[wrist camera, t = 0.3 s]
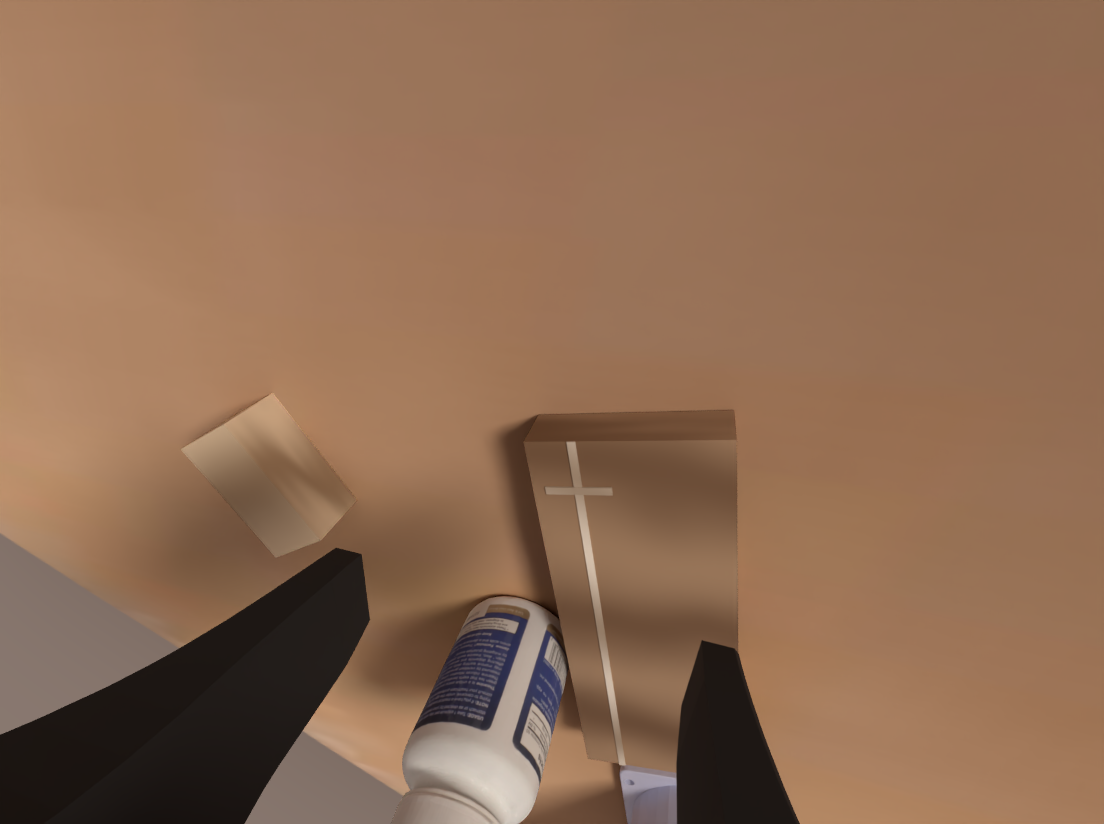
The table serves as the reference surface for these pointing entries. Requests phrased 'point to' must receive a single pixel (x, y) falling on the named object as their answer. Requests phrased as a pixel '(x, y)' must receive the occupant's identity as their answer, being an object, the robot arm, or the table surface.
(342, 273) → the table surface
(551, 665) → the pill bottle
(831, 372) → the table surface
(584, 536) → the board
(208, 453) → the offcut
